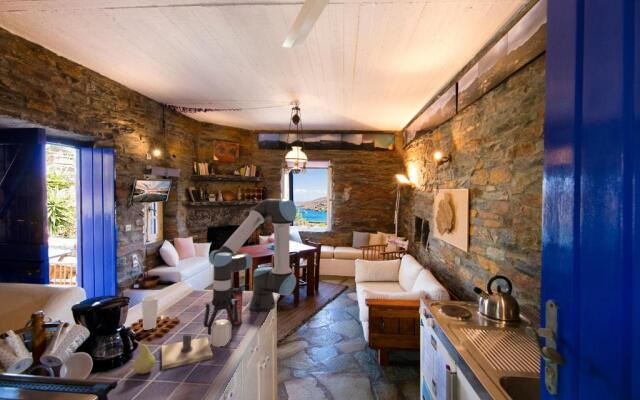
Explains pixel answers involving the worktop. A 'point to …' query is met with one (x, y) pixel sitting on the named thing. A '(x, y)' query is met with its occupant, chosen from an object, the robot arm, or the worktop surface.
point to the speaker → (237, 294)
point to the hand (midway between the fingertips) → (220, 339)
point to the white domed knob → (221, 332)
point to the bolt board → (186, 352)
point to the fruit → (144, 360)
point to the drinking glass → (149, 312)
